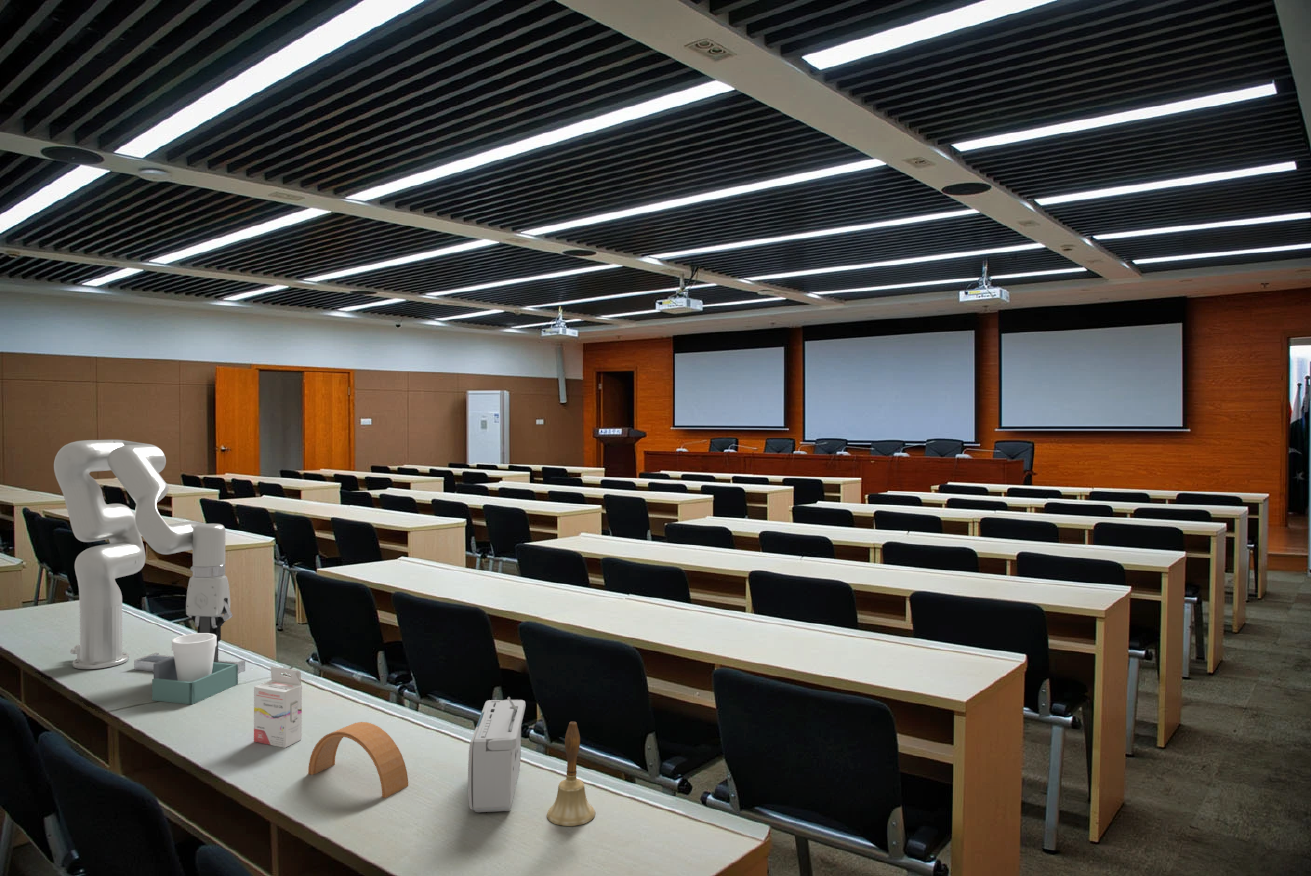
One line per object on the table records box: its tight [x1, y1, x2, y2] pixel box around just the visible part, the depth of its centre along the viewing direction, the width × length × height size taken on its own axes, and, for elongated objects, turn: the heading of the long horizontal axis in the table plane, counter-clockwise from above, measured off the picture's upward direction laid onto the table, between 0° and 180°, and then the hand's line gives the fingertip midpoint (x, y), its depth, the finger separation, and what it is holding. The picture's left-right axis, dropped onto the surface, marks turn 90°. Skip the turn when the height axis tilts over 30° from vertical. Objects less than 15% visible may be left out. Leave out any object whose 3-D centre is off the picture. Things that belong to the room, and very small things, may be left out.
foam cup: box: [171, 632, 217, 682], centre depth 201 cm, size 10×9×13 cm
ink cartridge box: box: [253, 666, 303, 749], centre depth 171 cm, size 9×5×15 cm, turn 71°
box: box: [151, 662, 239, 705], centre depth 200 cm, size 11×15×5 cm
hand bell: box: [546, 721, 596, 827], centre depth 142 cm, size 8×8×16 cm
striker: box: [153, 616, 219, 680], centre depth 207 cm, size 5×21×17 cm, turn 167°
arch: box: [307, 721, 409, 799], centre depth 154 cm, size 6×20×10 cm, turn 62°
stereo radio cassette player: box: [467, 696, 526, 814], centre depth 151 cm, size 21×8×20 cm, turn 4°
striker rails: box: [133, 652, 246, 674], centre depth 217 cm, size 28×7×2 cm, turn 77°
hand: (209, 640), depth 216 cm, fingers closed on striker, 3 cm apart
